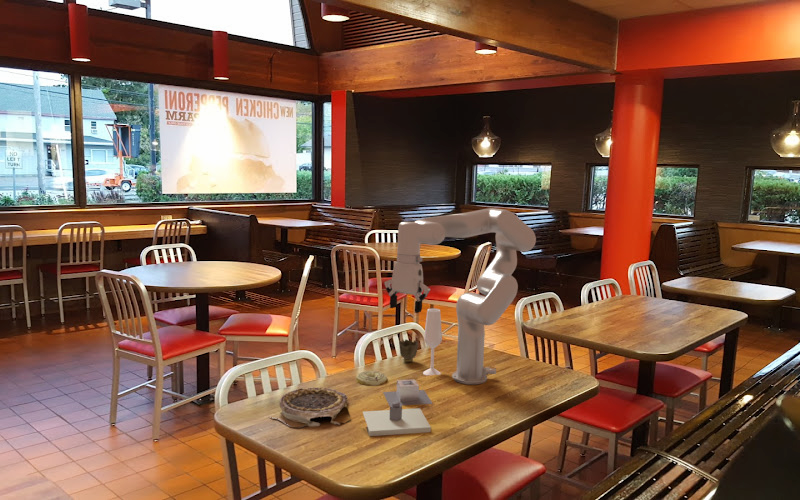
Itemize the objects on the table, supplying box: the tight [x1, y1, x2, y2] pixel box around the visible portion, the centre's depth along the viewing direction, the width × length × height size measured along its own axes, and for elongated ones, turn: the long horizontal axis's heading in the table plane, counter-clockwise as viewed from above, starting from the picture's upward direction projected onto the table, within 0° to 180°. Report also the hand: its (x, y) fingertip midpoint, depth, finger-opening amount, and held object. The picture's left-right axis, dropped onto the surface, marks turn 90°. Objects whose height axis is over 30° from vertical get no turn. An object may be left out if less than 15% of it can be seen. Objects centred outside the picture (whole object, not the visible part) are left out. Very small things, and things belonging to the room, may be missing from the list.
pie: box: [269, 387, 351, 429], centre depth 191 cm, size 28×27×5 cm
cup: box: [398, 339, 419, 364], centre depth 239 cm, size 8×7×8 cm
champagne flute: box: [422, 308, 443, 376], centre depth 226 cm, size 7×7×24 cm
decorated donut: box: [355, 370, 388, 386], centre depth 215 cm, size 10×11×4 cm
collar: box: [396, 378, 420, 402], centre depth 199 cm, size 6×6×5 cm
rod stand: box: [382, 389, 433, 407], centre depth 199 cm, size 14×12×5 cm
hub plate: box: [362, 402, 432, 437], centre depth 182 cm, size 18×14×6 cm
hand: (405, 309), depth 205 cm, fingers open, 9 cm apart
